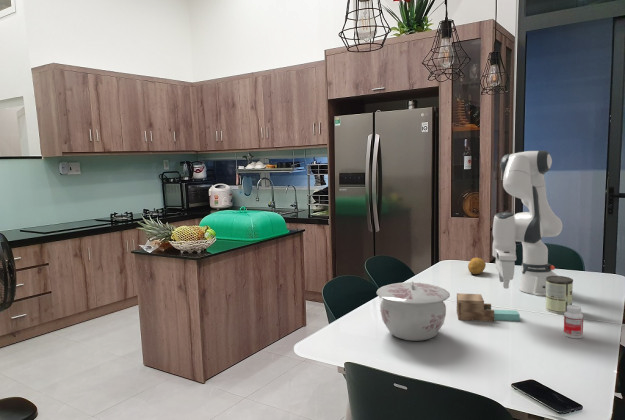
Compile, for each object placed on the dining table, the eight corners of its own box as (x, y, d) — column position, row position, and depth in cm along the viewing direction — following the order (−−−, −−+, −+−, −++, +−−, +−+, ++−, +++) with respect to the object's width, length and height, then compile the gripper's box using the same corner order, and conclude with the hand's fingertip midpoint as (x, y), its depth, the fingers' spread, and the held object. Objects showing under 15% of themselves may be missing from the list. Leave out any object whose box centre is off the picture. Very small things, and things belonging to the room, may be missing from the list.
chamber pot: (407, 355, 156) (407, 296, 154) (363, 330, 180) (362, 279, 178) (466, 338, 169) (467, 284, 167) (417, 317, 193) (417, 269, 191)
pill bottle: (570, 331, 173) (571, 303, 172) (586, 336, 167) (587, 307, 166) (559, 334, 170) (560, 306, 169) (575, 340, 164) (576, 310, 163)
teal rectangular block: (488, 320, 188) (488, 313, 188) (486, 316, 193) (486, 309, 193) (519, 321, 186) (519, 314, 185) (516, 317, 190) (516, 310, 190)
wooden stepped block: (490, 313, 195) (490, 294, 194) (494, 321, 185) (494, 301, 185) (456, 312, 198) (456, 293, 197) (458, 319, 189) (458, 300, 188)
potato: (463, 258, 261) (479, 259, 255) (472, 256, 271) (488, 256, 265) (464, 275, 261) (480, 276, 255) (473, 271, 271) (489, 272, 265)
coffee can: (544, 305, 204) (545, 274, 202) (570, 307, 199) (571, 276, 198) (545, 312, 194) (546, 280, 193) (573, 315, 190) (574, 282, 189)
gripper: (492, 247, 197) (491, 278, 198) (500, 257, 177) (499, 291, 179) (507, 247, 196) (507, 278, 197) (517, 257, 176) (517, 292, 177)
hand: (503, 284), depth 188 cm, fingers open, 8 cm apart
